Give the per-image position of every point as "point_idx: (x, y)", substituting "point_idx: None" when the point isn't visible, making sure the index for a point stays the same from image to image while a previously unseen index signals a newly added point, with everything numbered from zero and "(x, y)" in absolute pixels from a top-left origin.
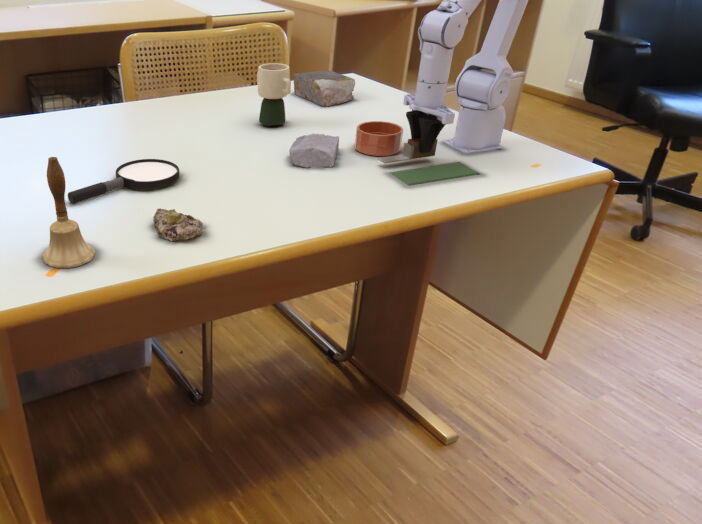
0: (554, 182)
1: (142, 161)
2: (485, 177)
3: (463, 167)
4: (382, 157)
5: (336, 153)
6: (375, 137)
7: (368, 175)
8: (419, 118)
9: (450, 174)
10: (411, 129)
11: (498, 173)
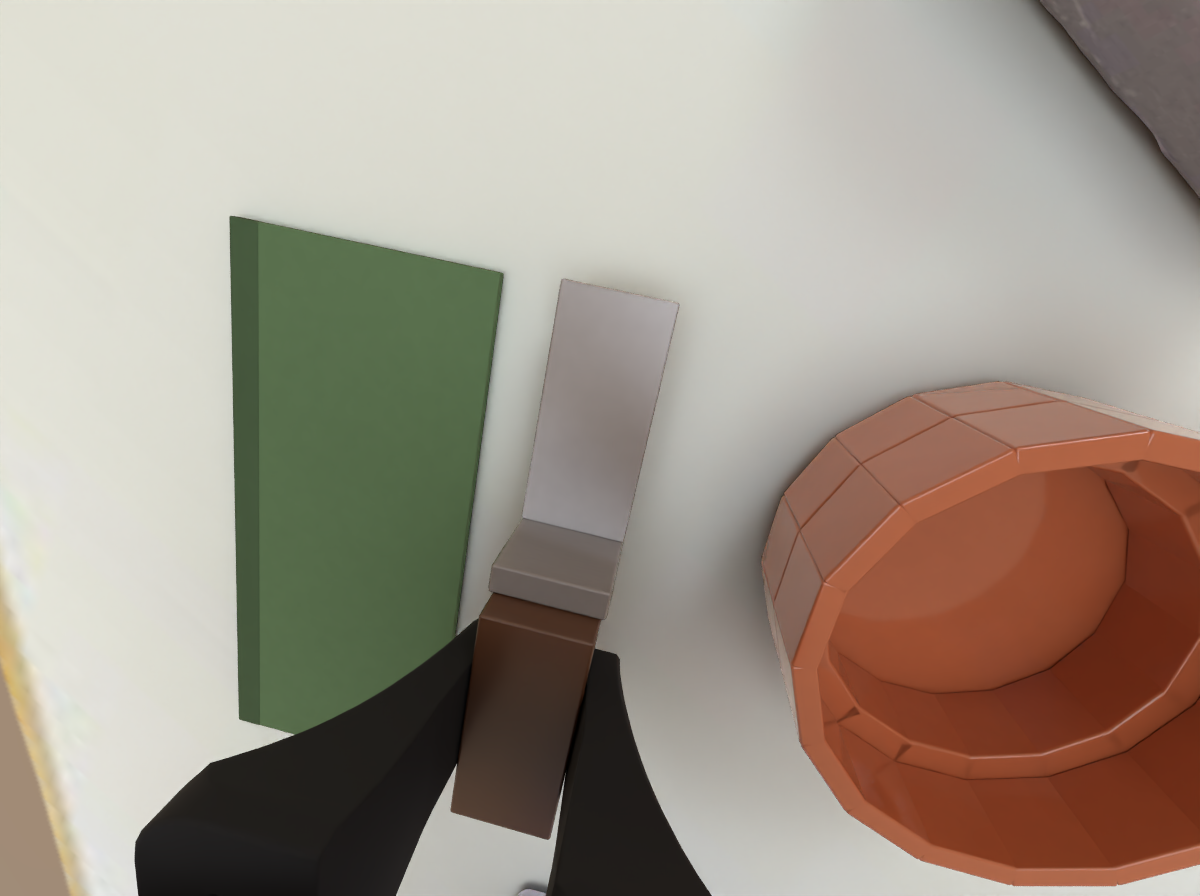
0: (74, 863)
1: None
2: (216, 709)
3: None
4: (659, 346)
5: (1136, 77)
6: (921, 477)
7: (568, 93)
8: (304, 849)
9: (293, 591)
10: (617, 763)
11: None
